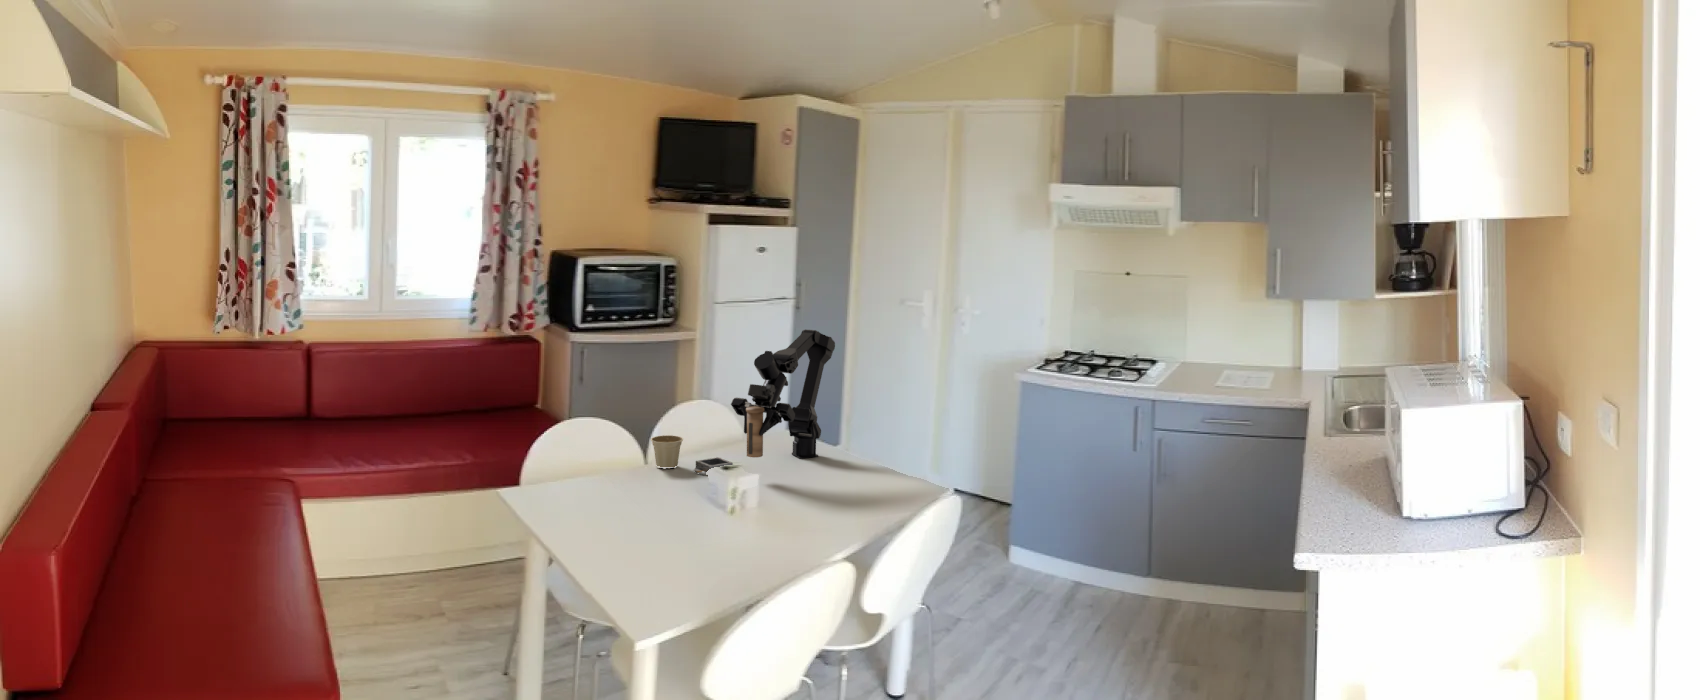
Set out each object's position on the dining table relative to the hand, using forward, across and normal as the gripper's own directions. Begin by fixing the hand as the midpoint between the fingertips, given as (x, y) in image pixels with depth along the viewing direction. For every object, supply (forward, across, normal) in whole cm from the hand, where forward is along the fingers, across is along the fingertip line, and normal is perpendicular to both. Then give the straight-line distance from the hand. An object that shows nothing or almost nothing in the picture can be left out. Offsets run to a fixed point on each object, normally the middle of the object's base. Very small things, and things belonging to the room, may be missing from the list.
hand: (752, 433), depth 292 cm
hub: (+8, -14, +11) cm, 20 cm away
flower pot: (+10, -29, +9) cm, 32 cm away
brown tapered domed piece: (+4, 0, +6) cm, 7 cm away
